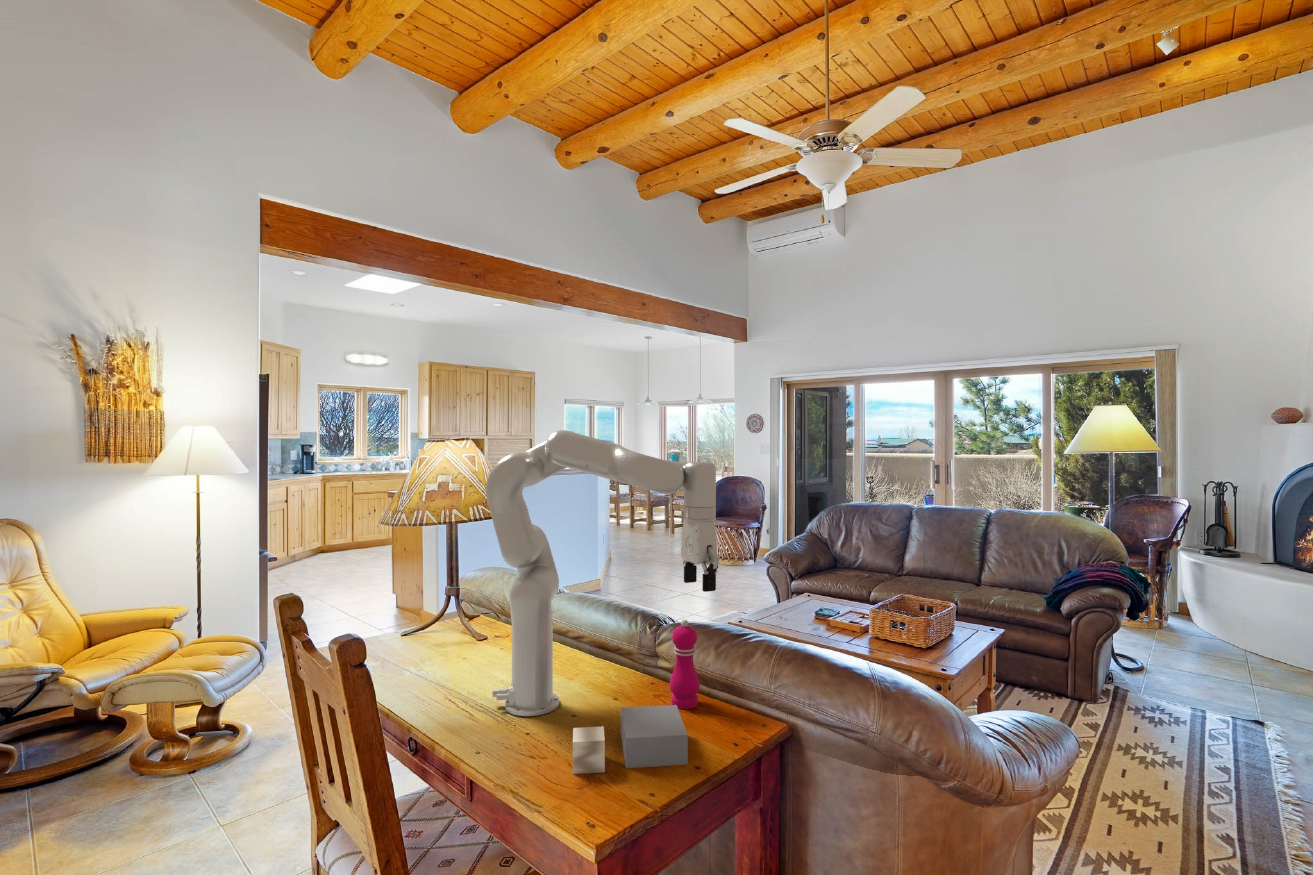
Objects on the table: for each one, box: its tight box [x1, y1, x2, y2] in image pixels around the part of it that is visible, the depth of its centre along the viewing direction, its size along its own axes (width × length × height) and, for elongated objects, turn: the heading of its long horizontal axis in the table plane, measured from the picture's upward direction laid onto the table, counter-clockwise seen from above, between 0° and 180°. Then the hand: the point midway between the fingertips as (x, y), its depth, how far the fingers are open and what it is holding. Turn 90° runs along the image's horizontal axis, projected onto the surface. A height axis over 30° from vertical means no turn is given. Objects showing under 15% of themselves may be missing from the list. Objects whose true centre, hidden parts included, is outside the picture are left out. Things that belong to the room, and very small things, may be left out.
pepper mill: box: [668, 619, 701, 710], centre depth 150 cm, size 7×7×20 cm
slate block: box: [620, 704, 689, 769], centre depth 128 cm, size 12×14×6 cm
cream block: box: [572, 725, 606, 775], centre depth 121 cm, size 6×6×6 cm
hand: (699, 586), depth 148 cm, fingers open, 9 cm apart
